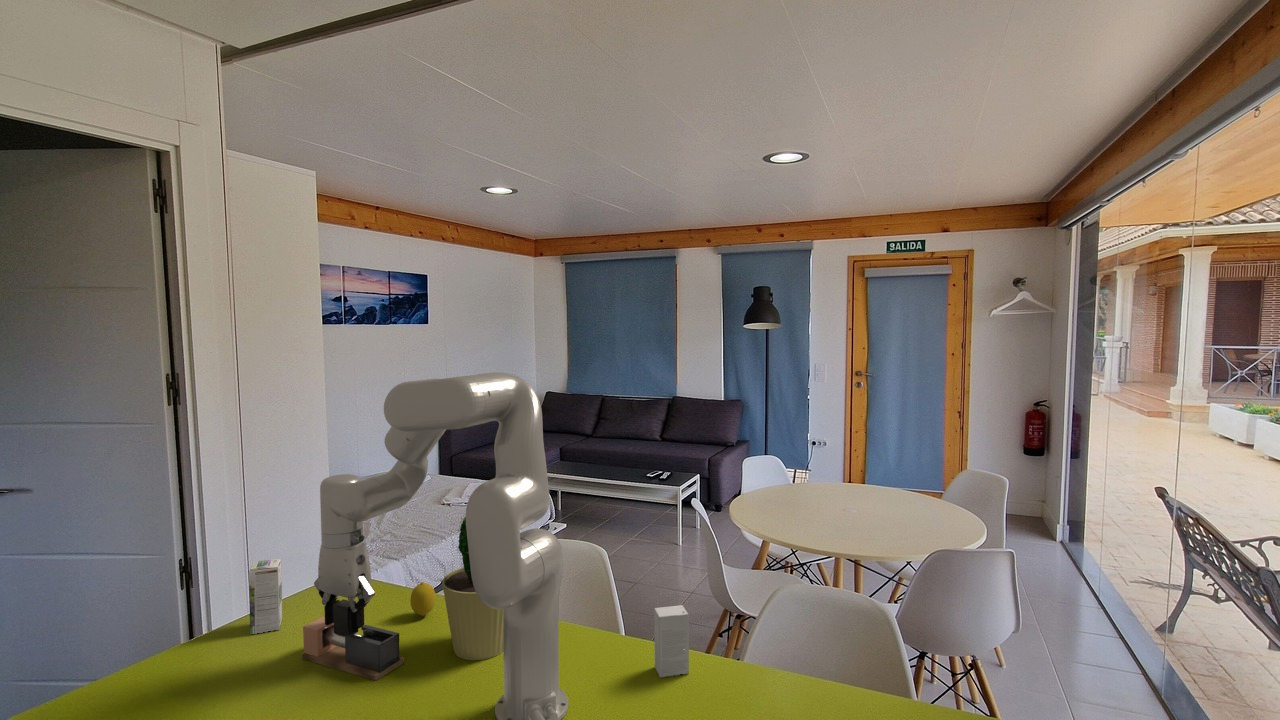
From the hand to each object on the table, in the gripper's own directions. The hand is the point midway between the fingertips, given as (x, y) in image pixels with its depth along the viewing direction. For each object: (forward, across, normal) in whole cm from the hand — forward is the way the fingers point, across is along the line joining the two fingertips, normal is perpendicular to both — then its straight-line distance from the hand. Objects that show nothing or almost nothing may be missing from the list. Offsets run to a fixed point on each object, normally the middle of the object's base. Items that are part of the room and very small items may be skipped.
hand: (344, 624), depth 126 cm
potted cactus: (+7, -22, -15) cm, 28 cm away
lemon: (+7, -1, -21) cm, 22 cm away
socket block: (+7, +6, 0) cm, 9 cm away
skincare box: (+7, -62, -22) cm, 66 cm away
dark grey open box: (+7, -7, 0) cm, 10 cm away
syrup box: (+7, +27, -3) cm, 28 cm away
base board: (+7, -2, 0) cm, 7 cm away
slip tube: (+5, +1, 0) cm, 5 cm away
